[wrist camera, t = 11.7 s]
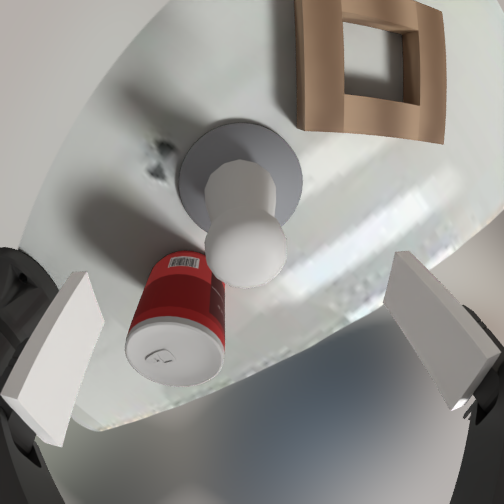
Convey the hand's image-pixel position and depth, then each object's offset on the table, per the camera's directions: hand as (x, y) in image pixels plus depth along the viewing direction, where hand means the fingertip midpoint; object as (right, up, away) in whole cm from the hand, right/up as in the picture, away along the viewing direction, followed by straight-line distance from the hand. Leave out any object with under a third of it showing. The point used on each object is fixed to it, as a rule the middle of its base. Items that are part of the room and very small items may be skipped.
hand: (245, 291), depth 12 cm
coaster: (-1, +8, +14) cm, 16 cm away
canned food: (-6, -1, +19) cm, 20 cm away
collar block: (+11, +19, +9) cm, 24 cm away
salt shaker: (-1, +7, +14) cm, 16 cm away
